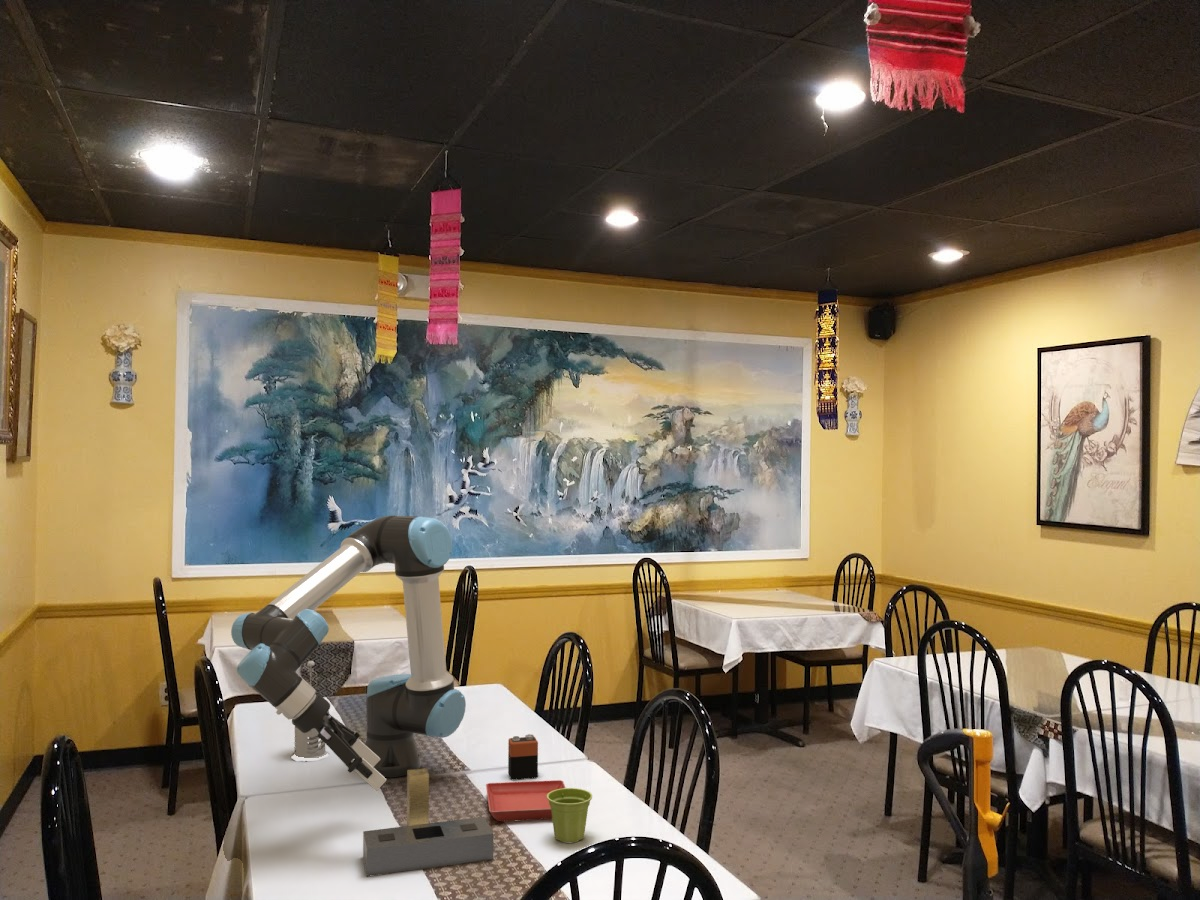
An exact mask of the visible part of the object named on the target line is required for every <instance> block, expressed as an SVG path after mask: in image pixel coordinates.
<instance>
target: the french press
mask: <svg viewBox="0 0 1200 900" xmlns="http://www.w3.org/2000/svg"><path fill="white" fill-rule="evenodd" d="M306 666H307V667H310V668H309V670H310V672H309V673H310V675H309V676H310V677H309V678H310V682H309V685H310V686H312V667H313V666H315V662H314V661H313V660H308V662H307V665H306ZM328 713H329V714H330V710H329V711H328ZM318 734H319V733H318V732H317V730H316V729H315V728H313V729H311V730H310V731H309V732H307V733H302V732H301V731H300V730H299V729H298V728H297V727H296V726H295V725H294V747H293V748H294V753H293V754H295V755H296V756H298V757H304V758H319V757H322V756H324V755H326V754H327V753H329V752H328V751H327V750H326V743H325V742H323V741H322V740H321V739H320V738H319V737H318Z"/></svg>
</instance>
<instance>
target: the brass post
mask: <svg viewBox="0 0 1200 900" xmlns="http://www.w3.org/2000/svg"><path fill="white" fill-rule="evenodd" d="M429 787H430V774H429V771H428V768H427V767H426V768H424V767H423V768H419V769H414V770H407V775H406V791H407V792H406V826H412V825H420V824H428V823H430V822H429V820H430V819H429V814H430V813H429V807H430V805H429V804H430V801H429V799H430V794H429V792H430V788H429Z"/></svg>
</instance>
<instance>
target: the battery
mask: <svg viewBox="0 0 1200 900" xmlns="http://www.w3.org/2000/svg"><path fill="white" fill-rule="evenodd" d="M507 744H508V746H507V747H508V748H507V750H508V757H507V758H508V759H507V761H508V764H507V766H508V767H507V769H508V770H507V773H508V776H509V779H510V780H511V779H518V780H525V779H524V778H530V779H535V778H534V777H537V778H538V777H539V766H538V765H539V741H538V740H537V737H536V736H535V735H534V734H530V733H528V734H526V735H525V736H523V737H522V736H521V737H520V736H518V735H516V736H515V735H514V736H512V737H511V738H508V743H507Z"/></svg>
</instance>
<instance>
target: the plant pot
mask: <svg viewBox="0 0 1200 900" xmlns="http://www.w3.org/2000/svg"><path fill="white" fill-rule="evenodd" d="M547 799H548V800H549V805H550V807H551V812H552V819H551V820H552V826H553V827H552V828H553V833H554V839H555V840H556V841H560V842H561V843H565V844H567V843H569V844H570V843H572V844H573V843H577V842H579V841H580V840H583V839H584V838H585V833H586V824H587V818H588V817H587V816H588V810H589V806H590V803H591V800H592V799H593V794H592V793H591V792H590V791H588V790H586V789H582V788H575V787H565V788H562V789H557V790H553V791H551V792H549V793H548V794H547Z"/></svg>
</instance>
